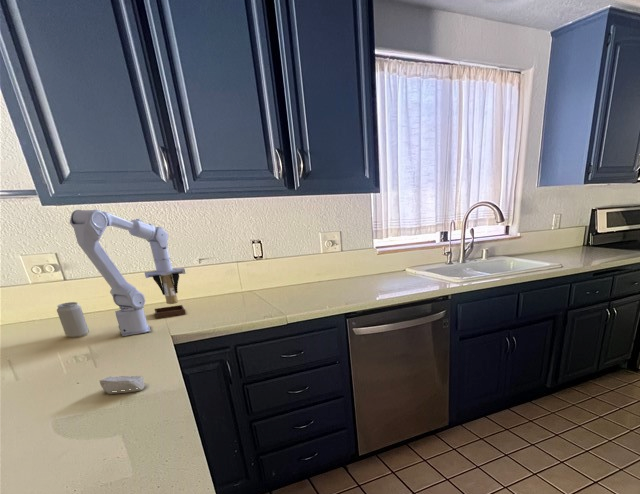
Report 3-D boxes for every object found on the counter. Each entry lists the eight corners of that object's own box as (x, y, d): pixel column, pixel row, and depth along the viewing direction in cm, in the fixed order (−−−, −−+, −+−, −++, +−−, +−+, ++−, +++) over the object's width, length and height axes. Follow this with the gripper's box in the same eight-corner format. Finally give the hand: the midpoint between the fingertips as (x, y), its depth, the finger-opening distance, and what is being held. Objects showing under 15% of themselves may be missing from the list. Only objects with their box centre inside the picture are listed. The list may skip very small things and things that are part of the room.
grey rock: (146, 397, 119) (149, 377, 118) (135, 402, 113) (139, 380, 112) (108, 388, 118) (112, 368, 117) (95, 392, 111) (99, 371, 111)
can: (87, 330, 165) (76, 300, 160) (92, 334, 160) (81, 303, 155) (64, 335, 161) (53, 304, 155) (68, 339, 156) (57, 307, 151)
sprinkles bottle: (179, 303, 174) (171, 269, 169) (167, 305, 172) (159, 271, 166) (177, 301, 178) (169, 268, 172) (165, 302, 176) (157, 269, 170)
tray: (157, 318, 178) (155, 313, 177) (155, 313, 186) (154, 308, 185) (185, 314, 183) (184, 309, 182) (183, 309, 190) (182, 304, 190)
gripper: (180, 256, 174) (188, 289, 180) (141, 259, 168) (150, 294, 173) (182, 258, 168) (190, 292, 174) (141, 262, 162) (150, 297, 168)
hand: (170, 293), depth 173 cm, fingers closed on sprinkles bottle, 4 cm apart
